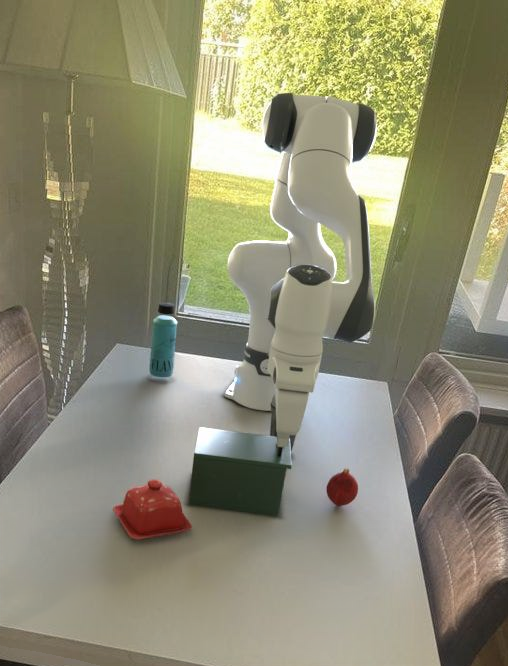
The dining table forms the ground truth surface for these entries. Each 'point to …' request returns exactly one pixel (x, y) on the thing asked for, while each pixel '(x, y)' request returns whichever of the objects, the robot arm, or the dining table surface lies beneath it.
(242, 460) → the green box lid
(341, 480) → the onion
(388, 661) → the dining table surface
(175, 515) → the butter dish
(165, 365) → the beverage bottle
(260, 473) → the green box
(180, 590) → the dining table surface
